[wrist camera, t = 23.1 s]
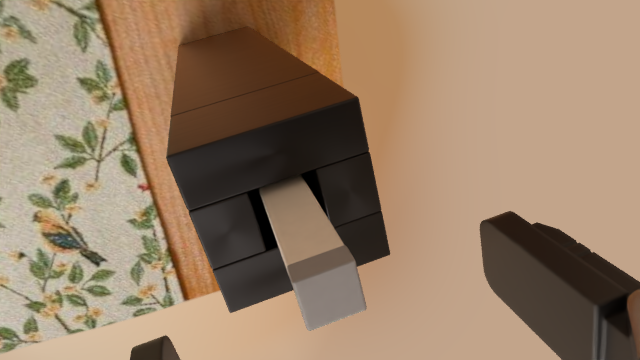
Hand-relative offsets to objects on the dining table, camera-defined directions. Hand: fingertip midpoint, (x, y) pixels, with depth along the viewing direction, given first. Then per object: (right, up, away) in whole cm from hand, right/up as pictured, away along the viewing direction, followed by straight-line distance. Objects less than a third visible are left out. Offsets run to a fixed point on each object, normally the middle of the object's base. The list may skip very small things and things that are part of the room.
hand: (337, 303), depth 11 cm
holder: (-9, +13, +32) cm, 35 cm away
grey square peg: (-3, +4, +9) cm, 10 cm away
